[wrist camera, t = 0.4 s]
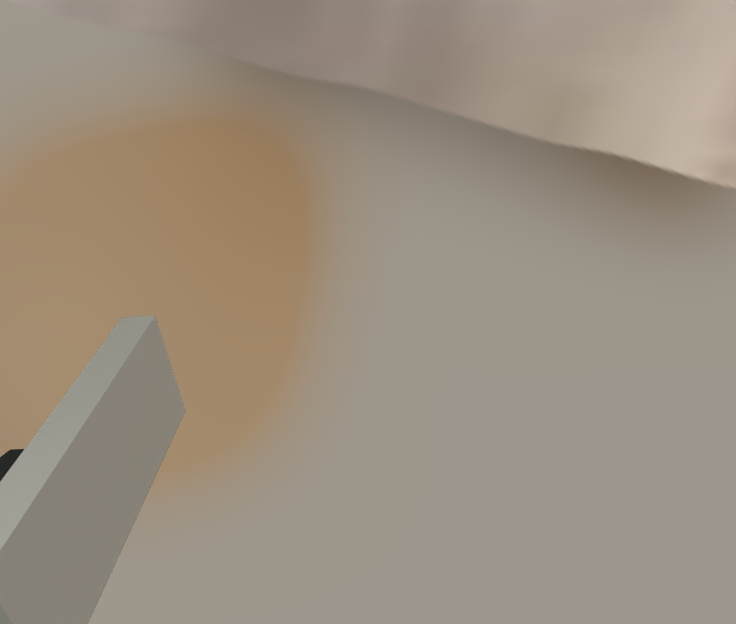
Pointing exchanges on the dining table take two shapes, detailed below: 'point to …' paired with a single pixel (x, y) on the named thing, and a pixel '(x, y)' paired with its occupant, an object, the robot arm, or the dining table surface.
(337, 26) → the dining table surface
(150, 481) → the robot arm
